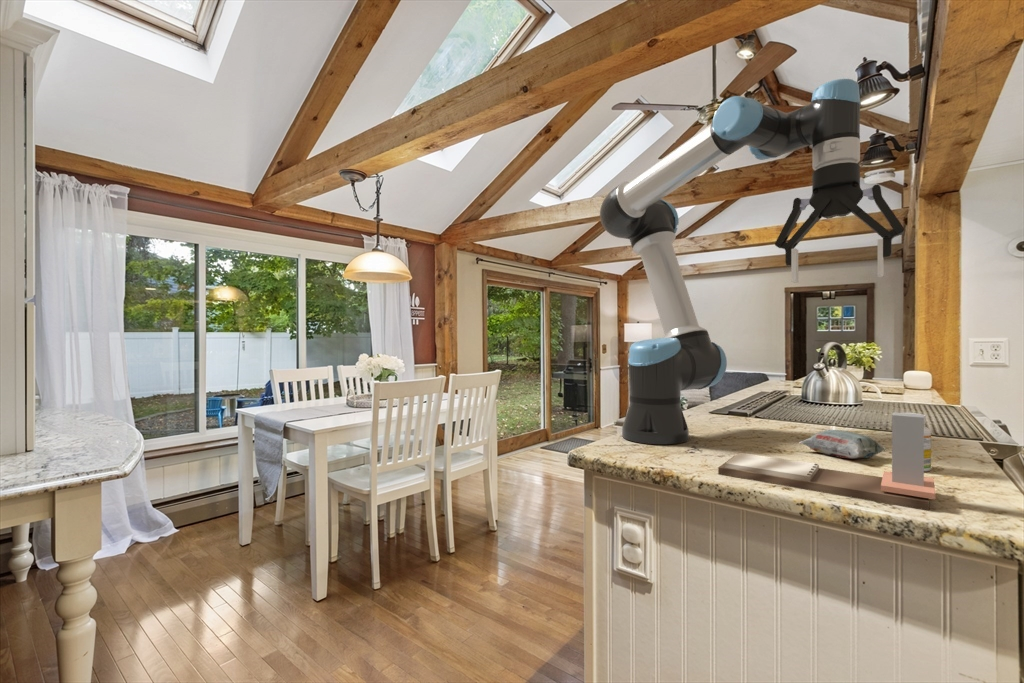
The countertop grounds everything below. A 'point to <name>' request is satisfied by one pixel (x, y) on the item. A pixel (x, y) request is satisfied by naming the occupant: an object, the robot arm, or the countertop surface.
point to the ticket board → (815, 479)
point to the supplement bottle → (926, 446)
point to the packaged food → (843, 444)
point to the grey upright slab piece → (908, 458)
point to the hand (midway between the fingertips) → (835, 279)
